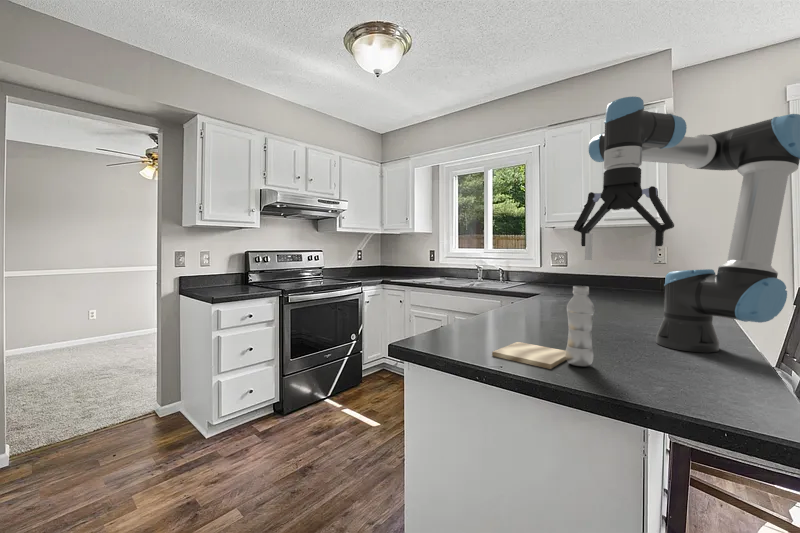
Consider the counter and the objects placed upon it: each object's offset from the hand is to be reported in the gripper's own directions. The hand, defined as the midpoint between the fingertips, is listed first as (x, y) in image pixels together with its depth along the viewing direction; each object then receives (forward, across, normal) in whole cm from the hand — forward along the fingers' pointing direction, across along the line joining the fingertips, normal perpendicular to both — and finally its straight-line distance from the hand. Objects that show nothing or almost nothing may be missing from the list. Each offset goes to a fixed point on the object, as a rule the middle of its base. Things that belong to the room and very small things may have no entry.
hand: (619, 260), depth 87 cm
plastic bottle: (+27, -8, 0) cm, 28 cm away
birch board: (+27, -20, -1) cm, 33 cm away
